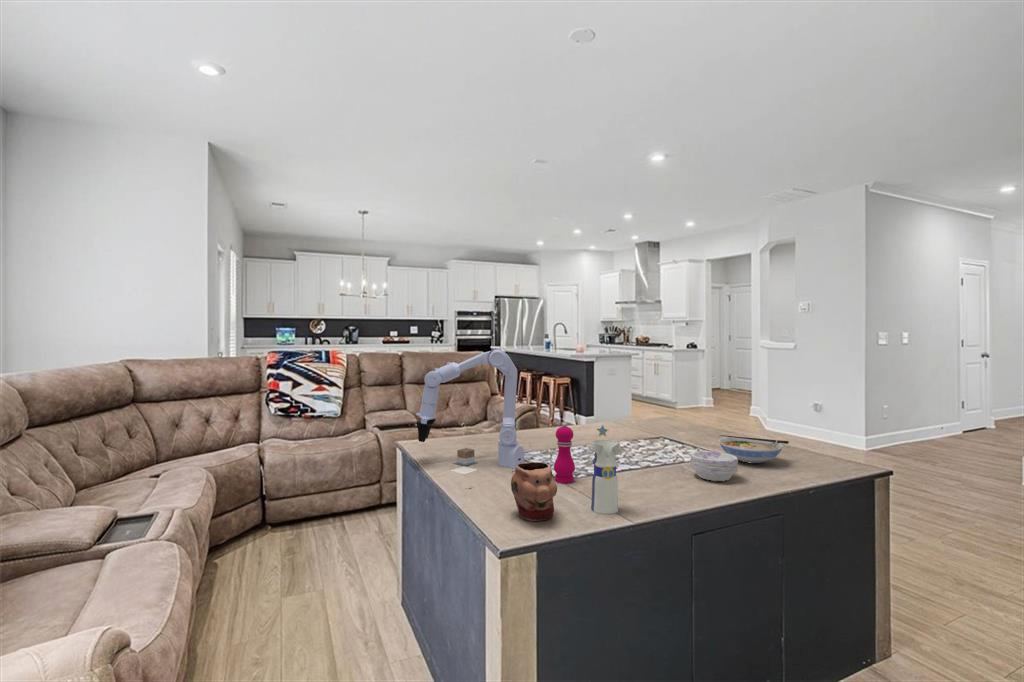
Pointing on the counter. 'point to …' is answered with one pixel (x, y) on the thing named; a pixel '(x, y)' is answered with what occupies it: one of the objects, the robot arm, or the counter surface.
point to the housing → (465, 456)
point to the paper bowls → (714, 465)
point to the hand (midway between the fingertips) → (423, 439)
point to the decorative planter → (534, 490)
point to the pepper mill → (564, 455)
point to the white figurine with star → (605, 475)
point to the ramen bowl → (751, 448)
